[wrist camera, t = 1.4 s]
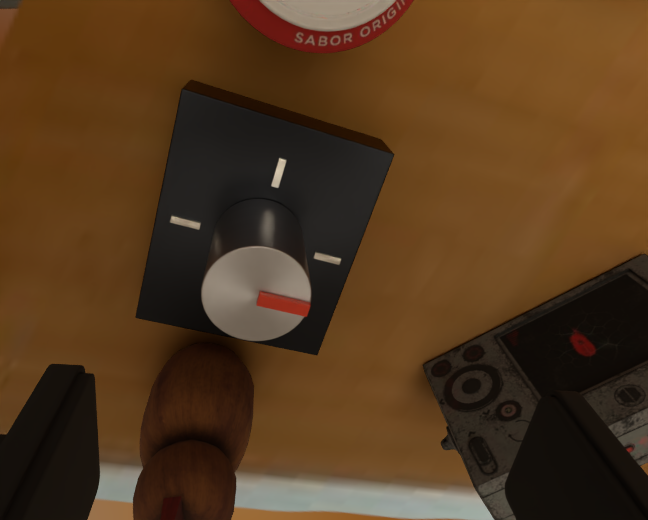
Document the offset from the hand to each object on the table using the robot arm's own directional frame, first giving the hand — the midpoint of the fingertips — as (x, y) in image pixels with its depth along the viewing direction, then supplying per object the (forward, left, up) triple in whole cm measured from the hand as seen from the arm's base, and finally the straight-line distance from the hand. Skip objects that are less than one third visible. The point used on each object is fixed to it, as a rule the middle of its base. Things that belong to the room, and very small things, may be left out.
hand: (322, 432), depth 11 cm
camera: (+18, -6, -19) cm, 27 cm away
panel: (-1, -3, -19) cm, 19 cm away
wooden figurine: (-1, -14, -19) cm, 23 cm away
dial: (-1, -3, -16) cm, 16 cm away
